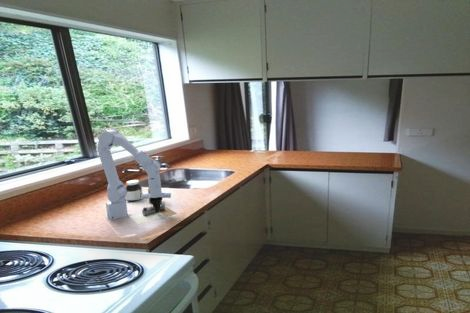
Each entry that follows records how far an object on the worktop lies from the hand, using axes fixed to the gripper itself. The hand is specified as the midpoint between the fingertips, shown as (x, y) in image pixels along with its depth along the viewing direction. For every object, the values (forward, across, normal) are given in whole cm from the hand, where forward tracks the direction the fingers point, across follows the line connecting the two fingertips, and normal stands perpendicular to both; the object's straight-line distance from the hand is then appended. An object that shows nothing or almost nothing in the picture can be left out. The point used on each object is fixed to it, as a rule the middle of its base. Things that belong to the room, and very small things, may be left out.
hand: (157, 211), depth 160 cm
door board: (+2, +2, +1) cm, 3 cm away
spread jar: (+2, +23, -28) cm, 36 cm away
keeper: (+1, +6, -4) cm, 7 cm away
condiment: (+2, +6, -19) cm, 20 cm away
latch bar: (+1, +3, -3) cm, 4 cm away
